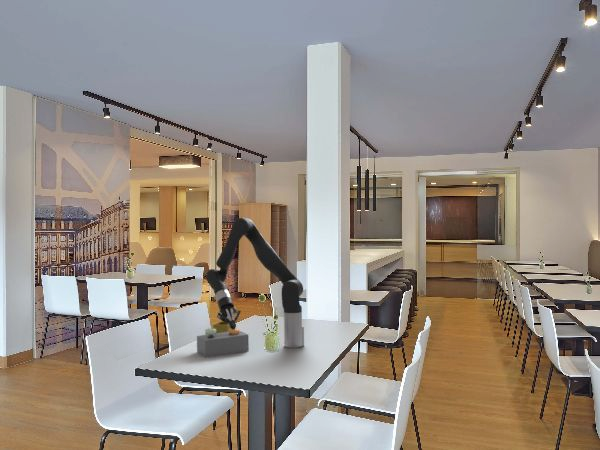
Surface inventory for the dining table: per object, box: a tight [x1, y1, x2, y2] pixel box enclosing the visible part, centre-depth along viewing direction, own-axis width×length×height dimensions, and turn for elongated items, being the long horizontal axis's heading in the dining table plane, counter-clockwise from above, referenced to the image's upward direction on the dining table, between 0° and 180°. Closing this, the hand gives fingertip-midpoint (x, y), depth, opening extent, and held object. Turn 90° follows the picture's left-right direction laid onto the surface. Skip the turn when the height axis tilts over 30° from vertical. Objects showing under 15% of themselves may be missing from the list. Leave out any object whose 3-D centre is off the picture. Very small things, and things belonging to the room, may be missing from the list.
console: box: [196, 330, 250, 359], centre depth 234 cm, size 22×12×8 cm, turn 121°
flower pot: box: [212, 320, 231, 333], centre depth 260 cm, size 9×9×9 cm
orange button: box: [229, 327, 240, 335], centre depth 237 cm, size 5×5×4 cm
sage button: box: [204, 328, 216, 338], centre depth 231 cm, size 5×5×4 cm
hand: (233, 328), depth 237 cm, fingers closed
